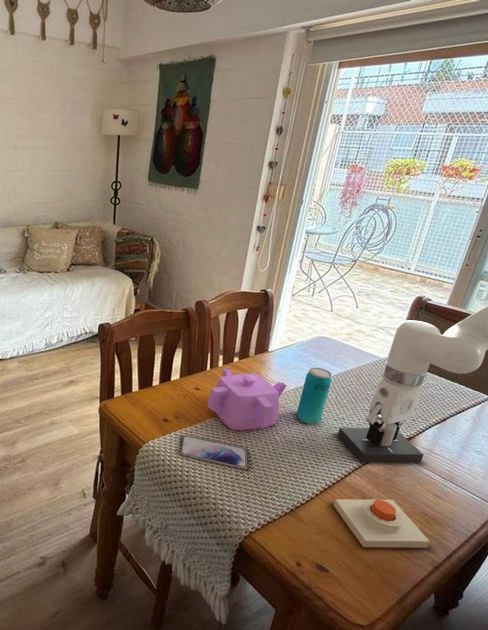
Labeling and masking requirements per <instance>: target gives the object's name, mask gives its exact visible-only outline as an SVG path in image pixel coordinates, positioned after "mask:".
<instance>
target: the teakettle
mask: <svg viewBox="0 0 488 630" xmlns="http://www.w3.org/2000/svg"><path fill="white" fill-rule="evenodd" d="M215 385H216V386H215V387H211V388H210V391H209V396H208V399H207V404H206V406H207V407H208V408H209V409H210V410H211V411H213V412H214V413H215V414H216V416H218V418H219V419H220V420H221V421H222V422H223V423H224V424H225V426H227V427H228V428H229V429H231V430H234V431H246V430H257V429H262V428H267V427H271V426H273V425H275V424H276V423H277V421H278V417H279V410H280V397H281V395H282V394H283V392H284V391H285V389H286V387H287V386H288V385H287V384H286V383H284V382H280V381H277V383H276V384H274V385H272V384H270V383H269V381H267V380H266V379H265V378H263V376H261V375H260V374H258V373H240V374H233V373H232V371H231V369H228V368H222V376H221V377H219V379H218V381H217V383H216V384H215Z"/></svg>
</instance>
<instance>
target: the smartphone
mask: <svg viewBox="0 0 488 630" xmlns="http://www.w3.org/2000/svg"><path fill="white" fill-rule="evenodd" d="M180 454H181V456H185V457H188V458H193V459H198V460H202V461H207V462H211V463H214V464H215V463H216V464H219V465H220V464H221V465H223V466H228V467H233V468H238V469H243V470H246V469H248V455H247V450H246V449H245V448H243V447H239V446H234V445H229V444H225V443H220V442H215V441H210V440H206V439H200V438H196V437H191V436H187V435H186V436H183V437H182V442H181V449H180Z"/></svg>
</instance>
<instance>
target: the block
mask: <svg viewBox="0 0 488 630" xmlns="http://www.w3.org/2000/svg"><path fill="white" fill-rule="evenodd" d="M375 500H376V499H340V498H339V499H336V498H335V500H334V503H333V507H334V508H335V510H336V511H337V512H338V514H339V515H340V517H341V518H342V520H343V521H344V522H345V524H346V525H347V526H348V528H349V529H350V531H351V532H352V534H353V535H354V536H355V538H356V539H357V541H358V542H359V543H360V545H361V546H362V547H363V548H419V549H421V548H422V549H423V548H426V549H427V548H428V546H429V544H430V540H429V539H428V538H427V536H426V535H425V534H424V533H423V532H422V531H421V530H420V529H419V527H418V526H417V525H416V524H415V523H414V521H412V520H411V519H410V517H409V516H408V515H407V514H406V513H405V512H404V511H403V509H402V508H401V507H400V506H399V505H398V504H397V503H396V501H395V500H394V499H382V500H383V501H386V502H388V503H390V504H391V505H392V506H393V507H394V508H395V509H396V513H395V516H394V518H393V520H391V521H385V520H383V519H380V518H378V517H377V516H375V515H374V514H373V513H372V510H371V509H372V506H373V503H374V501H375Z"/></svg>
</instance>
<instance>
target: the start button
mask: <svg viewBox="0 0 488 630" xmlns="http://www.w3.org/2000/svg"><path fill="white" fill-rule="evenodd" d="M374 500H375V501H374V503H373V506H372V509H371V510H372V513H373V514H374V515H375V516H377V517H378V518H380V519H383V520H385V521H391V520H393V518H394V516H395V513H396V509H395V508H394V507H393V506H392V505H391V504H390V503H388V502H386V501H383V500H384V499H374Z"/></svg>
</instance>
